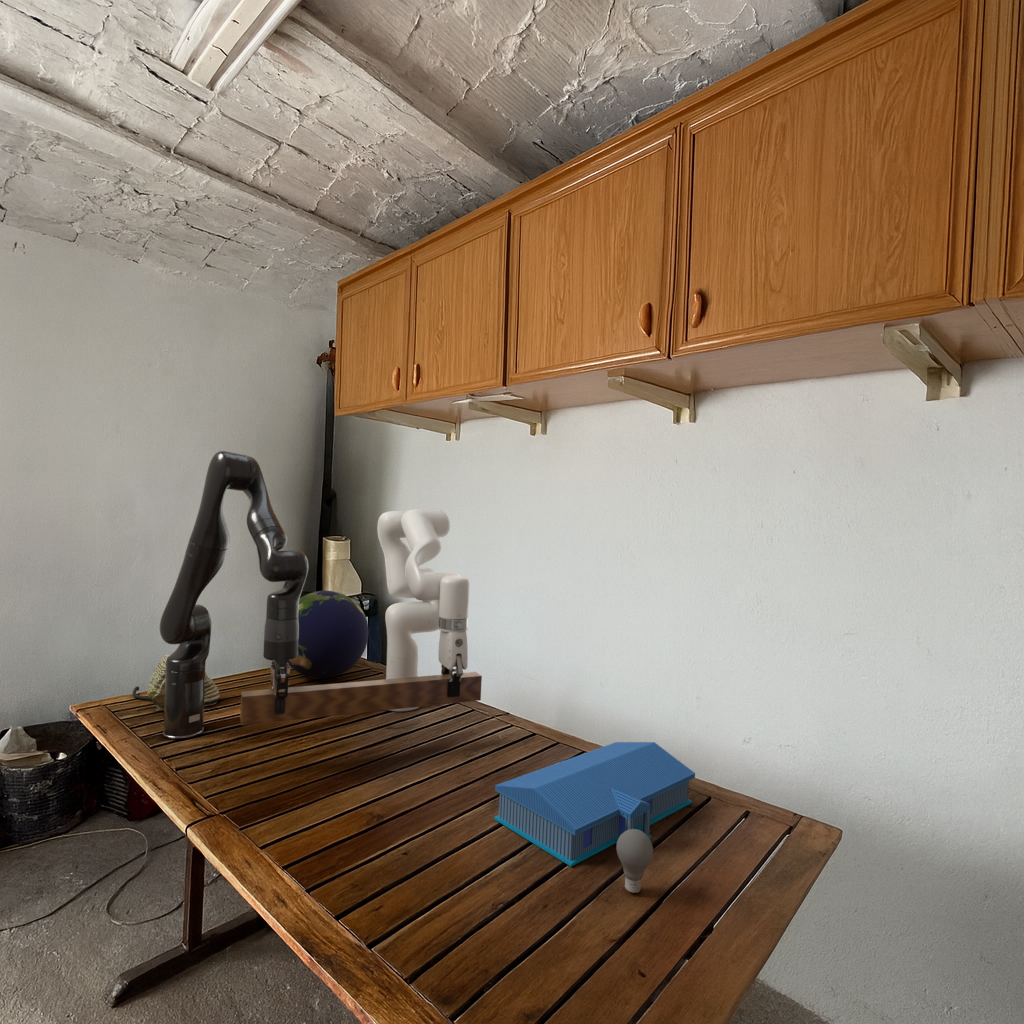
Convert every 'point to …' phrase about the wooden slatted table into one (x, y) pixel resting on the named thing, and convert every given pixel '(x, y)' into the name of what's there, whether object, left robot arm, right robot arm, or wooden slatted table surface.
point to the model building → (594, 798)
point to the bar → (356, 697)
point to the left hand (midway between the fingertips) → (278, 710)
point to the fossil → (158, 687)
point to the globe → (329, 635)
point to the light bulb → (634, 857)
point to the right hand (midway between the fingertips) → (450, 692)
